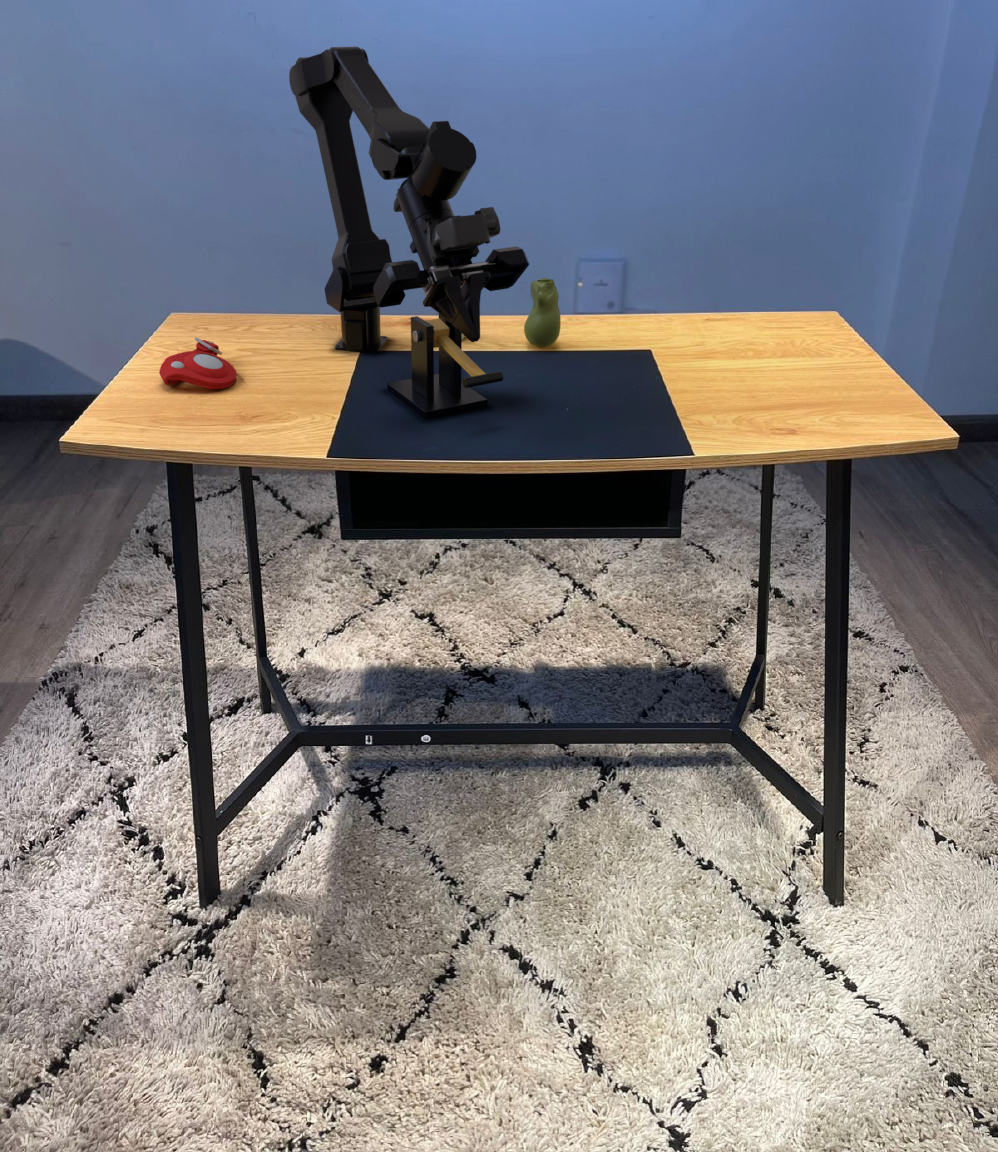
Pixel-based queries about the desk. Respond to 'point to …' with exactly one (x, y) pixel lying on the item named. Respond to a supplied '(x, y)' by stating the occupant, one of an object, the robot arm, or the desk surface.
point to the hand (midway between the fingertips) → (476, 340)
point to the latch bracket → (434, 376)
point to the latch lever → (461, 357)
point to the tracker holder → (199, 367)
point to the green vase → (543, 314)
